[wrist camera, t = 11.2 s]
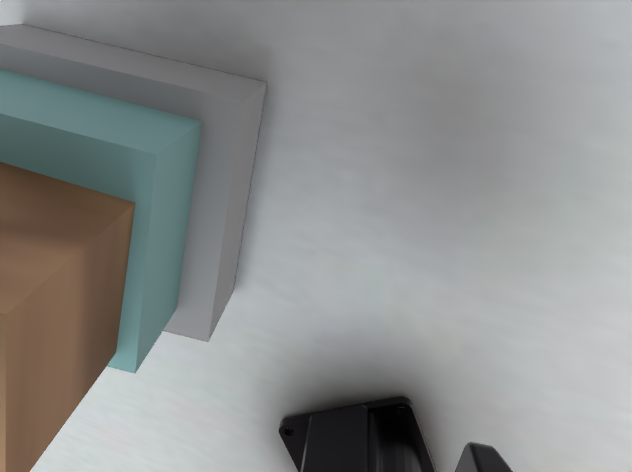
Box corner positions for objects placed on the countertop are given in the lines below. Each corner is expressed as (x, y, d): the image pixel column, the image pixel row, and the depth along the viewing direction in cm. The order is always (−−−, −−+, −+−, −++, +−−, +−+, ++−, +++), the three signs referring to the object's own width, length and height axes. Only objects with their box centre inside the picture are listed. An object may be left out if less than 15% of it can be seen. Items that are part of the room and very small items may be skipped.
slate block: (269, 80, 19) (243, 101, 15) (235, 286, 23) (208, 341, 19) (30, 23, 19) (-54, 30, 15) (38, 238, 23) (-27, 284, 19)
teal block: (201, 121, 15) (156, 154, 12) (176, 308, 19) (135, 373, 15) (-23, 62, 15) (-126, 80, 12) (-11, 259, 19) (-91, 314, 15)
